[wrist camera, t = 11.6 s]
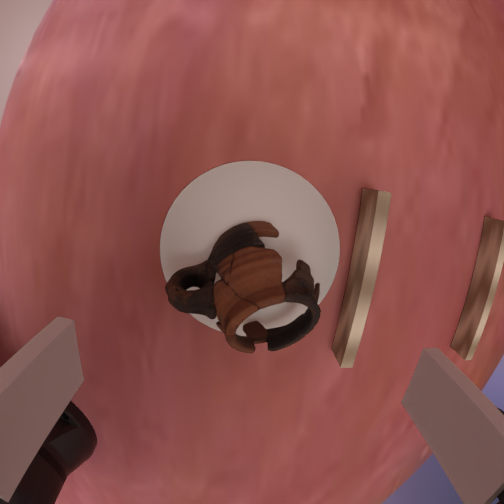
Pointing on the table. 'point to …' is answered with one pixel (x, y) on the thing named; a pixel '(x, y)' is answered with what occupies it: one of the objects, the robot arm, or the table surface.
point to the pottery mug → (246, 288)
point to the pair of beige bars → (366, 267)
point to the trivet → (246, 210)
